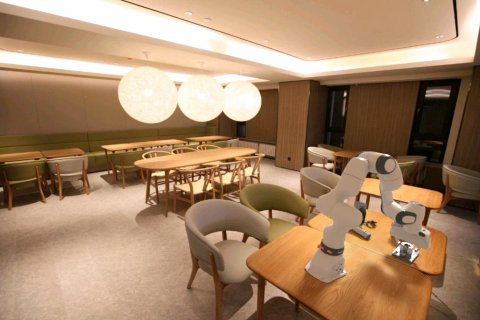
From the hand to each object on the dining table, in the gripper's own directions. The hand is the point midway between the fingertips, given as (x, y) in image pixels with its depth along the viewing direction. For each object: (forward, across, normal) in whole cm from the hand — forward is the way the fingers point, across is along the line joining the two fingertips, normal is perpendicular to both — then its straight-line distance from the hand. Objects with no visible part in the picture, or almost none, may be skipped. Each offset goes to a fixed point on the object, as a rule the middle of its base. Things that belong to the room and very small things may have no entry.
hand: (406, 248), depth 141 cm
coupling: (+3, 0, 0) cm, 3 cm away
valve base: (+5, 0, 0) cm, 5 cm away
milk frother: (+5, -34, +20) cm, 39 cm away
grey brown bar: (+5, -34, +1) cm, 34 cm away
